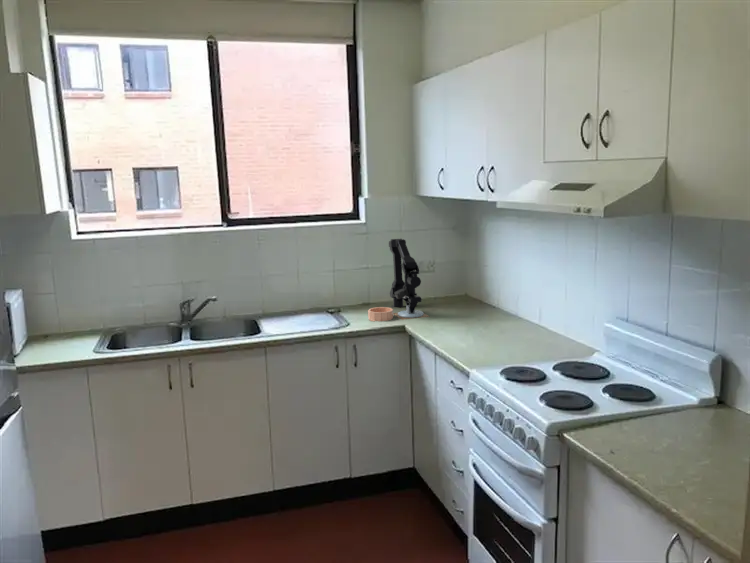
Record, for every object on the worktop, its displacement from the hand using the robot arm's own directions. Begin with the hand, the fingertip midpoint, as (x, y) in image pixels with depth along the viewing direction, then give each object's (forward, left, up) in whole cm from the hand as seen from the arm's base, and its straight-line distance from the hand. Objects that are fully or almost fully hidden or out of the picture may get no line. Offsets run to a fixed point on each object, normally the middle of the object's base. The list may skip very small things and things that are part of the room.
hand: (410, 312), depth 340 cm
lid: (0, 0, -2) cm, 2 cm away
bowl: (0, -17, -2) cm, 17 cm away
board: (0, 0, -2) cm, 2 cm away
